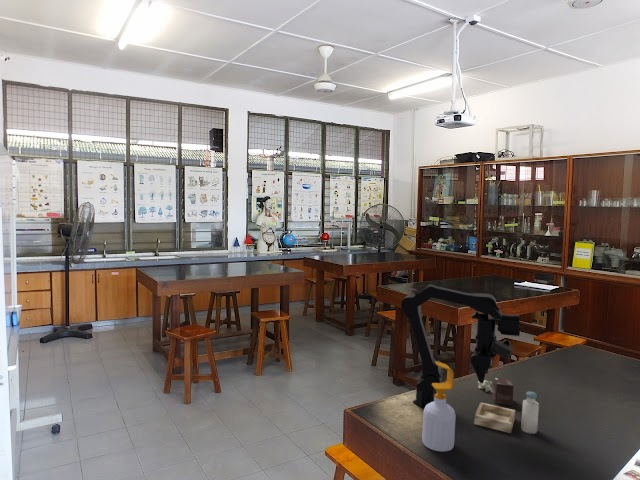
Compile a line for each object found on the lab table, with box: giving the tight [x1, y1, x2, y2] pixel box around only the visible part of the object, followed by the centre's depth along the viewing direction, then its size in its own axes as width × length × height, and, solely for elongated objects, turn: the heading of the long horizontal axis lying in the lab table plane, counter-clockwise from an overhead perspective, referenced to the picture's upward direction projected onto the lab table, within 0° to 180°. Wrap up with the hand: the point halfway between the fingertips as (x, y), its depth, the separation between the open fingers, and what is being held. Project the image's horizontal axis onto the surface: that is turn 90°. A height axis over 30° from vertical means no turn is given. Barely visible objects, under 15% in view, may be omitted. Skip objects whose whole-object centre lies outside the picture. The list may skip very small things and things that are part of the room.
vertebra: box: [477, 379, 493, 394], centre depth 173 cm, size 6×7×4 cm
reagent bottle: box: [520, 391, 540, 435], centre depth 142 cm, size 5×5×12 cm
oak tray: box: [473, 402, 516, 434], centre depth 148 cm, size 11×11×3 cm
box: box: [491, 377, 514, 406], centre depth 163 cm, size 6×6×7 cm
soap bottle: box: [421, 360, 457, 453], centre depth 132 cm, size 9×9×25 cm
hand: (483, 378), depth 151 cm, fingers open, 9 cm apart
